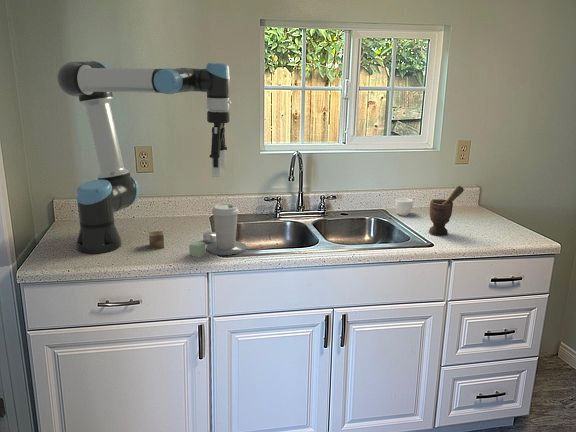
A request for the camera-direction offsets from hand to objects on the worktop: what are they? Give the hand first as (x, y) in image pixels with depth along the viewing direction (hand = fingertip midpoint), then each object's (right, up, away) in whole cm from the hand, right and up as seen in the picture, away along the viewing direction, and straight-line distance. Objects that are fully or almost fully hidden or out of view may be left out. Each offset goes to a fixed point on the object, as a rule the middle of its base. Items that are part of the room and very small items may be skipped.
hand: (218, 172), depth 185 cm
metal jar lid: (-5, -25, +14) cm, 29 cm away
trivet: (+2, -27, +6) cm, 28 cm away
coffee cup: (+2, -26, +6) cm, 27 cm away
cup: (+76, -14, +53) cm, 94 cm away
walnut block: (-23, -26, +8) cm, 36 cm away
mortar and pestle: (+86, -22, +26) cm, 93 cm away
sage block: (-7, -29, +1) cm, 30 cm away
